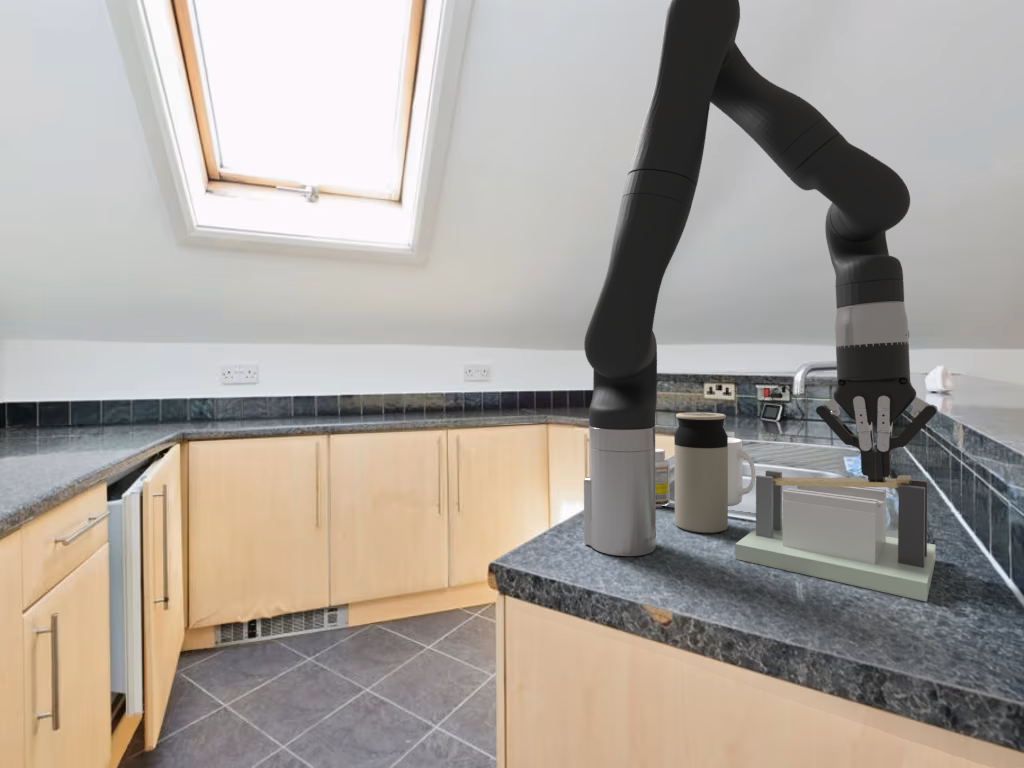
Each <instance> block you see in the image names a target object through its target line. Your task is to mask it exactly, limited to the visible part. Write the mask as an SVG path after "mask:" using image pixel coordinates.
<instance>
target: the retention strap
mask: <svg viewBox="0 0 1024 768" xmlns="http://www.w3.org/2000/svg"><path fill="white" fill-rule="evenodd" d="M769 477H773V485H782V486H793V487H794V486H797V487H798V486H837V487H875V488H884V489H888V488H889V489H890V488H891V489H892V488H893V489H894V488H896V489H899V485H909V486H911V484H912V481H911V479H912V475H904V474H903V475H898V476H897V477H896V478H889V477H885V480H884V481H877V480H875V481H868V477H866V478H865V477H860V478H858V477H798V476H797V477H793V476H792V477H789V476H788V477H786V476H785V477H784V476H782V477H775V476H773V475H770V476H769Z"/></svg>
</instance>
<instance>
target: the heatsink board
mask: <svg viewBox="0 0 1024 768" xmlns="http://www.w3.org/2000/svg"><path fill="white" fill-rule="evenodd" d="M770 475H773V476H775V477H783V471H776V470H765V475H762V474H761V475H759V474H757V475H755V529H753V530H752V531H750V532H749V533H748V534H746V535H744V537H742V538H741V539H740V540H738V541H737V542H736V543H735V544H734V551H735V552H734V555H735V556H734V559H735V560H738V561H742V562H743V561H744V562H748V563H753V564H756V565H757V564H758V565H760V566H761V565H762V566H766V567H771V568H775V569H779V570H783V571H789V572H792V573H795V574H801V575H806V576H810V577H815V578H819V579H824V580H828V581H831V582H832V581H833V582H837V583H841V584H845V585H850V586H855V587H859V588H863V589H868V590H873V591H877V592H882V593H887V594H890V595H895V596H899V597H904V598H908V599H913V600H917V601H922V602H928V597H929V593H930V588H931V583H932V580H933V574H934V568H935V565H936V557H937V556H936V551H937V548H936V544H933V543H928V509H929V507H928V506H929V505H928V502H929V500H928V499H929V498H928V497H929V495H928V493H929V487H928V486H929V480H925V479H924V480H923V479H917V478H916V479H915V478H911V481H912V484H911V486H909V485H899V488H898V512H897V513H898V519H897V520H898V522H897V523H898V526H897V528H898V532H897V537H892V536H887V488H885V487H837V486H797V488H791V487H787V488H785V489H784V490H783V485H773V477H769V476H770Z"/></svg>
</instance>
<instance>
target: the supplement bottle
mask: <svg viewBox="0 0 1024 768" xmlns="http://www.w3.org/2000/svg"><path fill="white" fill-rule="evenodd" d="M670 475H671V474H670V462H669V461H668V460H667V459H666V451H665V449H662V448H655V476H656V506H662V505H665V504H667V503H669V502H671V496H670V492H671V491H670V489H671V488H670V487H671V486H670V480H671V479H670ZM669 504H670V503H669Z"/></svg>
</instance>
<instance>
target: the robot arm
mask: <svg viewBox="0 0 1024 768" xmlns="http://www.w3.org/2000/svg"><path fill="white" fill-rule="evenodd" d="M740 7H741V5H740V1H739V0H671V1H670V4H669V5H668V8H667V10H666V13H665V17H664V21H663V26H662V29H663V30H662V32H663V33H662V39H661V40H662V41H661V47H660V53H659V54H660V55H659V60H658V65H657V70H656V71H657V72H656V77H655V84H654V86H653V87H654V88H653V91H652V96H651V99H650V102H649V105H648V108H647V110H646V114H645V118H644V120H643V122H642V126H641V129H640V132H639V134H638V139H637V142H636V145H635V149H634V153H633V154H632V155H633V156H632V159H631V162H630V166H629V168H628V172H627V178H626V180H625V185H624V189H623V192H622V197H621V201H620V206H619V210H618V211H619V212H618V216H617V220H616V225H615V229H614V234H613V239H612V240H613V241H612V245H611V252H610V259H609V263H608V267H607V271H606V276H605V279H604V281H603V285H602V288H601V291H600V293H599V297H598V300H597V302H596V305H595V308H594V309H593V314H591V315H592V316H591V318H590V321H589V324H588V326H587V330H586V333H585V336H584V341H583V342H584V343H583V344H584V353H585V357H586V360H587V362H588V363H589V365H590V366H591V368H592V369H593V379H592V380H593V387H592V388H593V389H592V397H591V398H592V399H591V401H590V402H591V403H590V405H589V409H588V425H589V426H588V427H589V428H588V432H589V433H588V435H589V437H588V438H589V439H588V444H589V445H588V446H589V451H588V453H589V476H587V477H585V478H584V479H583V541H584V542H583V543H584V544H585V545H587V546H590V547H591V548H593V549H594V550H596V551H597V552H600V553H603V554H606V555H611V556H618V557H620V556H621V557H636V556H645V555H647V554H651V553H653V552H654V551H656V548H657V545H656V544H657V538H656V537H657V529H656V520H657V518H656V517H657V516H656V514H657V510H656V509H657V507H656V476H655V449H656V414H657V413H656V411H657V402H658V401H657V398H658V396H657V395H658V392H657V391H658V387H657V386H658V346H657V344H658V343H657V339H656V335H655V332H654V331H653V329H654V320H655V315H656V309H657V308H656V307H657V302H658V297H659V293H660V288H661V286H662V282H663V278H664V276H665V274H666V271H667V268H668V266H669V264H670V262H671V260H672V257H673V256H674V253H675V252H676V249H677V247H678V245H679V243H680V240H681V238H682V236H683V233H684V230H685V228H686V225H687V221H688V219H689V216H690V213H691V209H692V205H693V202H694V198H695V194H696V190H697V185H698V182H699V177H700V172H701V167H702V161H703V156H704V151H705V143H706V136H707V130H708V129H707V128H708V122H709V113H710V107H711V104H712V105H714V106H715V107H716V108H718V109H719V110H720V111H721V112H722V113H723V114H725V115H726V117H728V118H729V119H731V120H732V121H733V122H734V123H735V124H736V125H737V126H738V127H739V128H741V130H743V131H744V132H745V133H746V134H747V135H748V136H749V137H750V138H751V139H752V140H753V141H754V142H755V143H756V144H757V145H758V146H759V147H760V148H761V150H763V151H764V152H765V154H767V156H768V157H769V158H770V159H771V160H772V161H773V162H774V164H776V166H777V167H779V168H778V169H780V170H781V171H782V172H783V173H784V174H785V175H786V176H787V177H788V178H789V179H790V181H791V182H792V183H793V184H794V185H795V186H796V187H798V188H800V189H801V190H803V191H813V190H815V191H817V192H819V194H821V195H823V197H824V198H826V199H827V200H829V201H830V202H831V204H830V205H829V208H828V210H827V211H826V216H825V223H824V224H825V225H824V226H825V239H826V244H827V248H828V253H829V257H830V261H831V263H832V267H833V270H834V273H835V298H836V299H835V301H836V302H835V303H836V316H835V324H834V326H835V327H834V329H835V330H834V333H835V336H834V337H835V353H836V354H835V355H836V356H835V358H836V379H837V380H836V381H837V382H836V383H837V385H836V388H835V389H834V391H833V394H832V395H833V396H832V397H833V398H831V399H830V400H828V401H827V402H825V403H824V404H822V405H819V406H817V407H816V408H815V412H816V414H817V415H818V416H819V417H820V418H821V419H822V421H824V423H825V424H826V425H827V426H828V427H829V428H830V429H831V430H832V432H833V433H835V435H836V436H837V437H838V438H839V439H840V440H841V441H842V443H843V444H845V445H846V446H852V447H855V448H857V449H858V451H859V452H860V466H861V467H860V469H861V470H860V471H861V474H862V475H863V476H864V477H867V478H868V481H875V480H877V481H884V480H885V478H889V477H890V476H891V473H892V454H891V453H892V450H895V449H898V448H905V447H906V446H907V445H908V444H909V443H910V442H911V441H912V439H914V438H915V437H916V436H917V435H918V433H919V432H920V431H921V430H922V429H924V427H925V426H926V425H927V424H928V422H929V421H931V420H932V419H933V417H934V416H935V415H936V414H937V412H938V410H939V409H938V407H937V405H935V404H930V403H928V402H926V400H925V401H924V400H923V399H921V398H919V397H918V396H917V391H916V389H915V388H914V387H913V385H912V383H911V369H910V368H911V365H910V364H911V363H910V344H909V342H910V341H909V339H910V331H909V322H908V321H909V320H908V317H907V312H906V306H905V288H904V272H903V267H902V262H901V260H900V259H898V258H897V257H895V256H892V255H890V254H889V248H888V243H887V235H886V233H887V231H889V230H891V229H893V228H894V227H896V226H897V225H898V224H899V223H901V222H902V220H903V219H904V218H905V217H906V215H907V214H908V211H909V209H910V206H911V195H910V191H909V189H908V186H907V184H906V183H905V182H904V180H903V179H902V177H901V176H900V175H899V174H898V173H897V172H896V171H895V170H894V169H892V168H891V167H890V166H888V165H887V164H885V163H884V162H882V161H881V160H879V159H878V158H876V157H874V156H872V154H869V153H868V152H866V151H864V150H863V149H861V148H859V147H857V146H855V145H853V144H851V143H850V142H849V141H848V140H847V139H846V137H844V135H843V134H841V133H840V132H839V131H838V129H837V128H836V127H835V126H834V125H833V124H832V123H831V122H830V121H829V120H828V119H827V118H826V117H825V116H824V115H823V114H822V113H821V112H820V111H819V109H817V108H816V107H815V106H814V105H812V104H811V103H809V102H808V101H807V100H806V99H804V98H802V97H800V96H799V95H797V94H795V93H793V92H791V91H789V90H786V89H785V88H782V87H781V86H778V85H777V84H775V83H773V82H771V81H769V80H768V79H766V77H764V76H763V75H761V74H760V73H759V72H758V71H757V70H756V69H755V68H754V67H753V66H752V65H751V63H750V62H749V61H748V60H747V58H746V57H745V56H744V54H743V53H742V51H741V50H740V48H739V46H738V45H737V43H736V37H737V33H738V30H739V25H740V20H741V8H740ZM910 405H911V406H912V409H911V411H910V414H911V416H912V417H913V418H914V419H913V420H912V421H911V422H910V423H909V424H908V425H907V426H906V427H905V429H903V431H902V432H901V433H900V434H899V435H897V436H893V424H894V422H895V421H898V419H899V418H900V417H901V416H902V415H903V413H904V412H905V411H906V410H907V409H908V407H909V406H910ZM839 407H840V408H841V409H842V410H843V411H844V412H845V413H846V414H847V415H848V417H850V419H851V420H852V421H854V422H855V423H856V431H857V434H858V435H856V434H855V433H854V432H853V430H851V429H850V428H849V427H848V426H847V424H846V423H845V422H844V421H843V420H842V419H841V418H840V417H839V415H840V414H841V410H840V409H839ZM873 423H876V424H877V425H876V432H877V443H876V449H875V448H874V446H875V445H874V444H875V442H874V441H875V440H874V434H873V433H874V432H873ZM892 436H893V437H892Z"/></svg>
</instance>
